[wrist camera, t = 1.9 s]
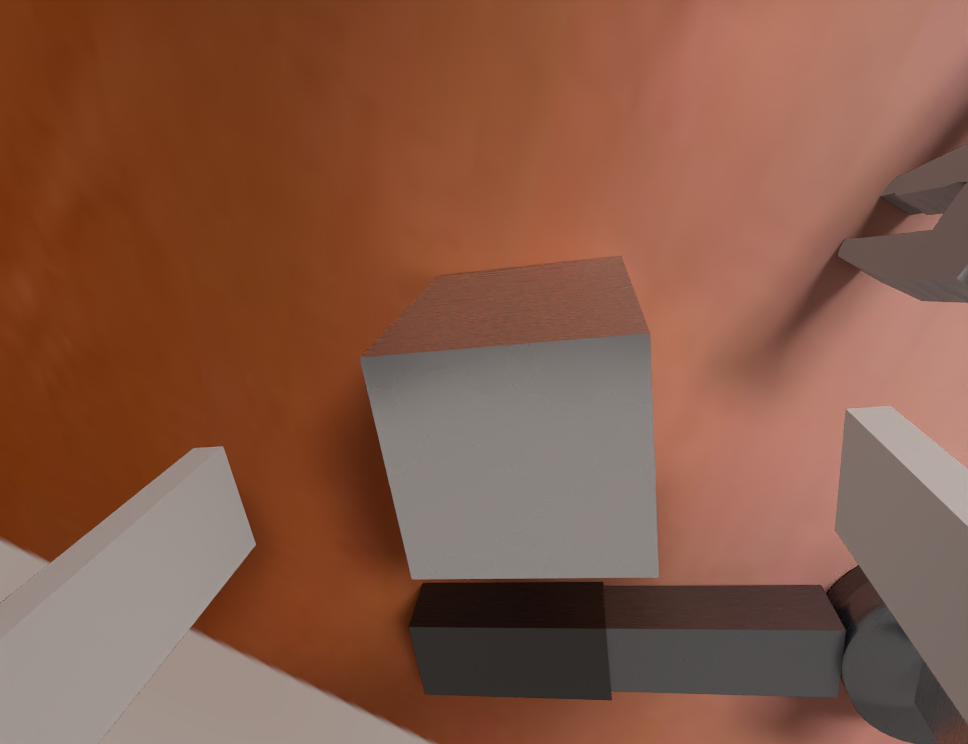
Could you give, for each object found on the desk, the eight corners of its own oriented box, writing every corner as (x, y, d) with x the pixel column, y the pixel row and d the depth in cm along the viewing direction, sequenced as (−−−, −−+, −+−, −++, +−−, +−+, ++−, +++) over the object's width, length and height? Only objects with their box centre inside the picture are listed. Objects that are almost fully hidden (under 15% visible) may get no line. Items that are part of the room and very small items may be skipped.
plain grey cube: (436, 276, 18) (359, 357, 11) (621, 256, 17) (649, 332, 10) (464, 435, 20) (411, 579, 13) (630, 425, 19) (658, 577, 12)
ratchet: (417, 556, 22) (359, 711, 16) (1028, 547, 18) (1243, 745, 12) (442, 669, 24) (400, 842, 18) (993, 682, 21) (1163, 905, 15)
